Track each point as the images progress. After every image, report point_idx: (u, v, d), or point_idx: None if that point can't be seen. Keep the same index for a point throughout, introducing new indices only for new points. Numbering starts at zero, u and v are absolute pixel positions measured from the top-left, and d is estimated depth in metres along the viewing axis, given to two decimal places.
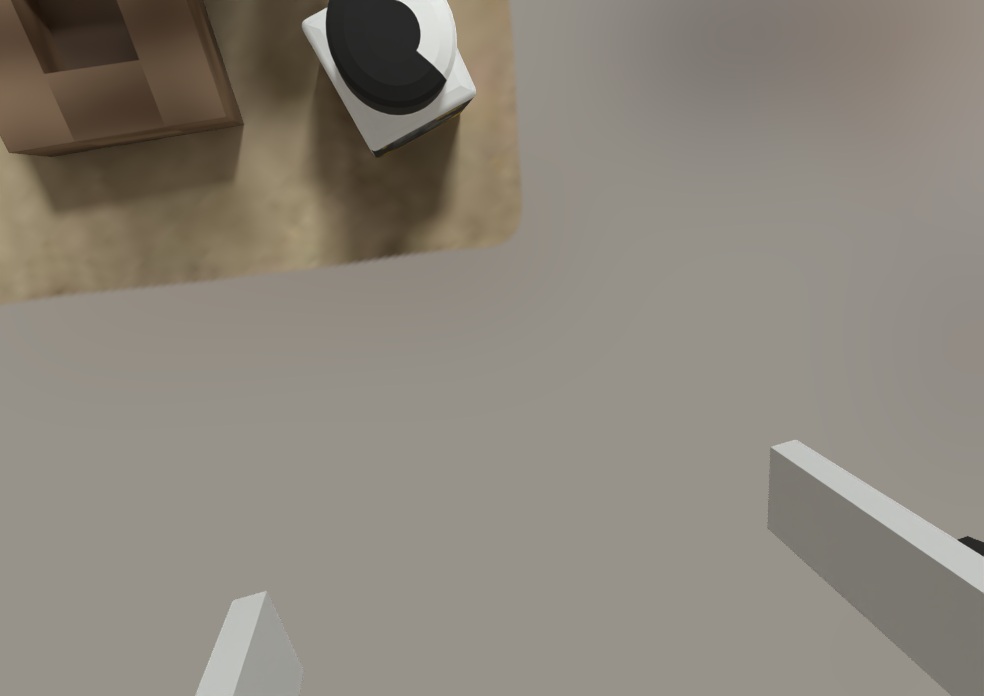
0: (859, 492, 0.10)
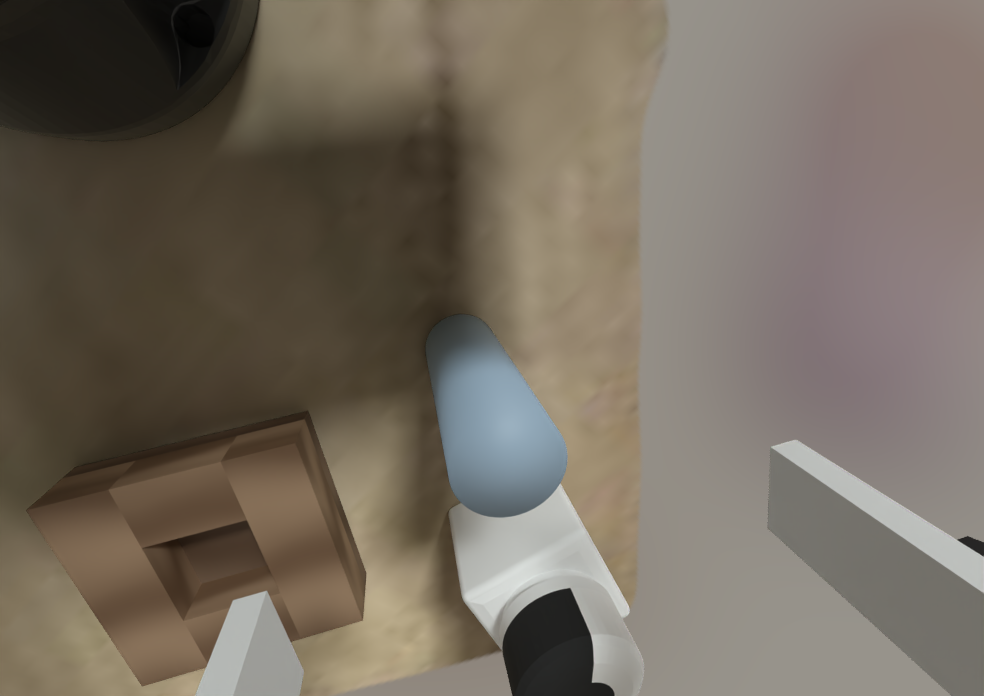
0: (859, 492, 0.10)
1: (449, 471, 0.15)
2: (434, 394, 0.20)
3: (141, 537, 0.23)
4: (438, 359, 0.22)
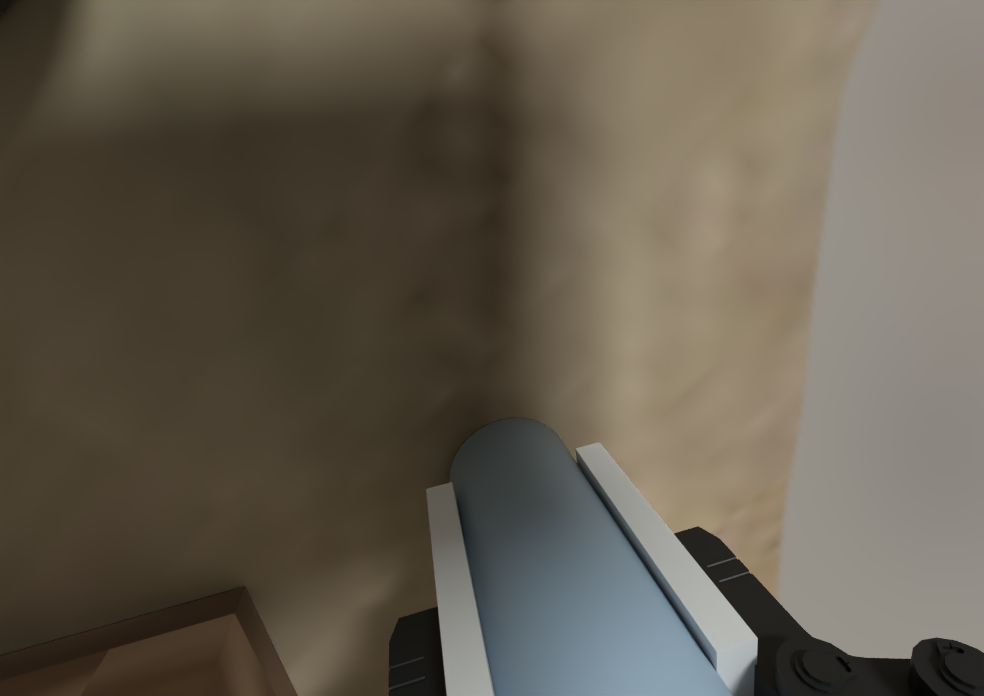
0: (620, 488, 0.12)
1: None
2: None
3: None
4: (487, 553, 0.10)
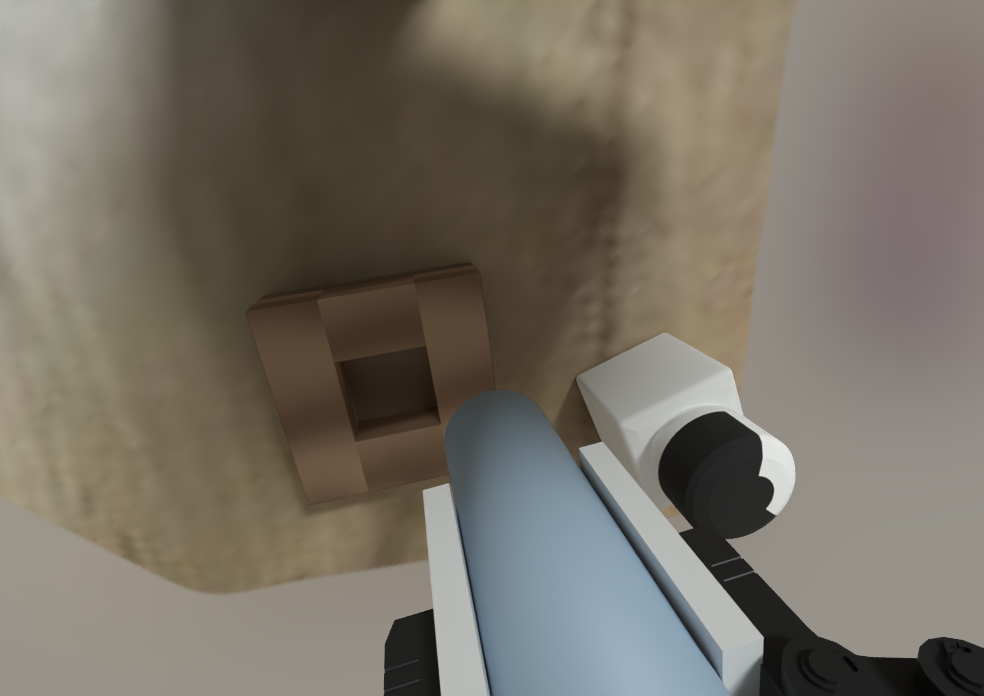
0: (624, 488, 0.12)
1: None
2: (469, 568, 0.11)
3: (335, 351, 0.25)
4: (472, 491, 0.13)
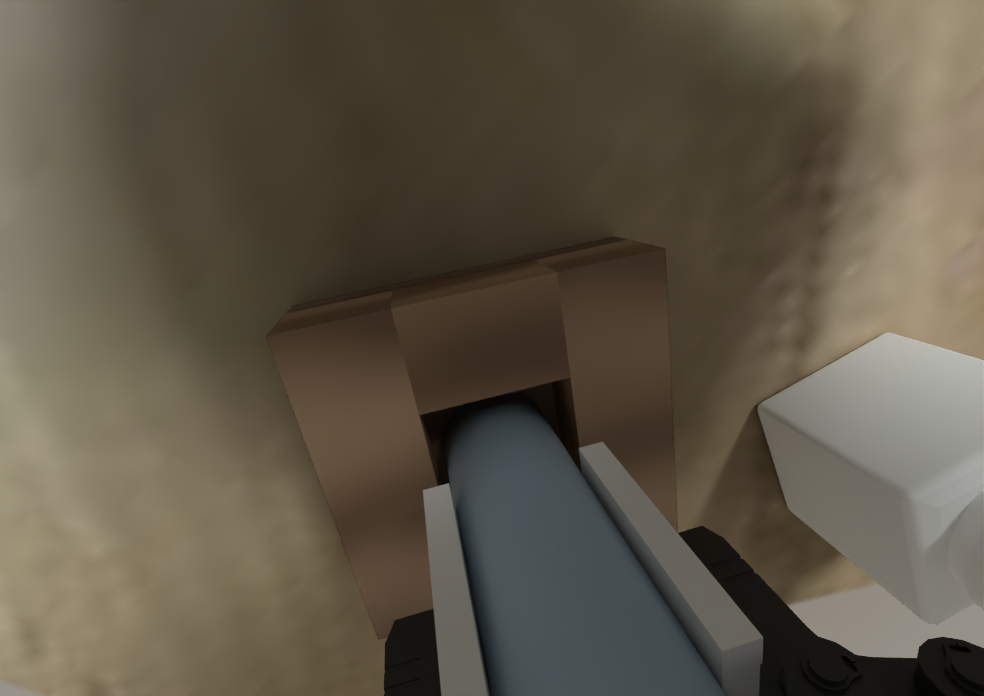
0: (624, 488, 0.12)
1: None
2: (467, 569, 0.11)
3: (422, 396, 0.14)
4: (471, 492, 0.13)
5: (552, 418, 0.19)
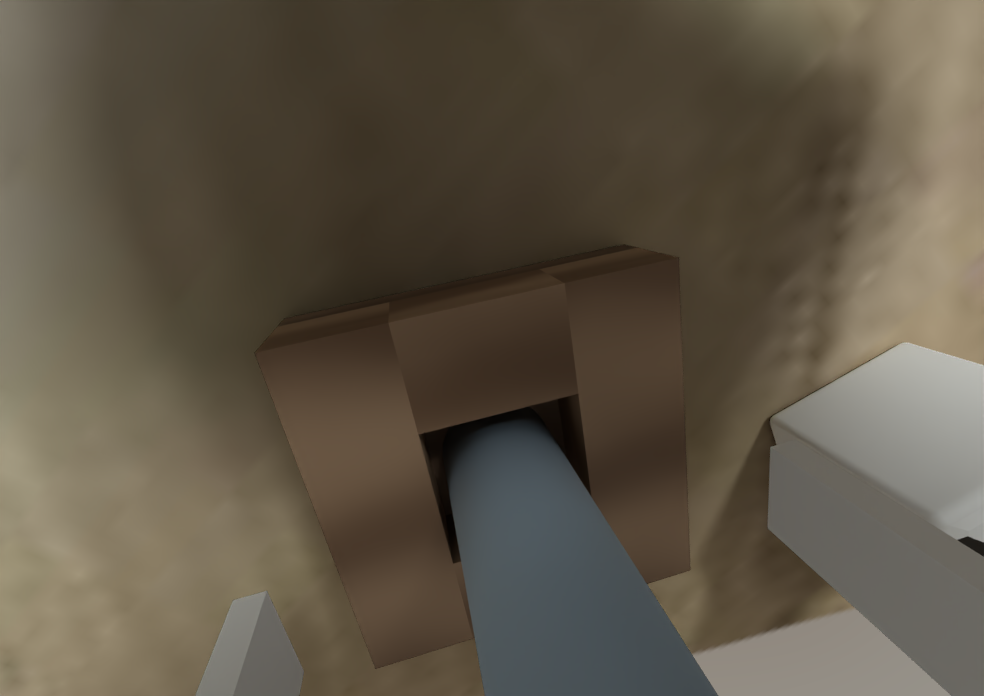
0: (859, 492, 0.10)
1: None
2: (467, 587, 0.11)
3: (421, 415, 0.14)
4: (471, 506, 0.12)
5: (558, 434, 0.18)
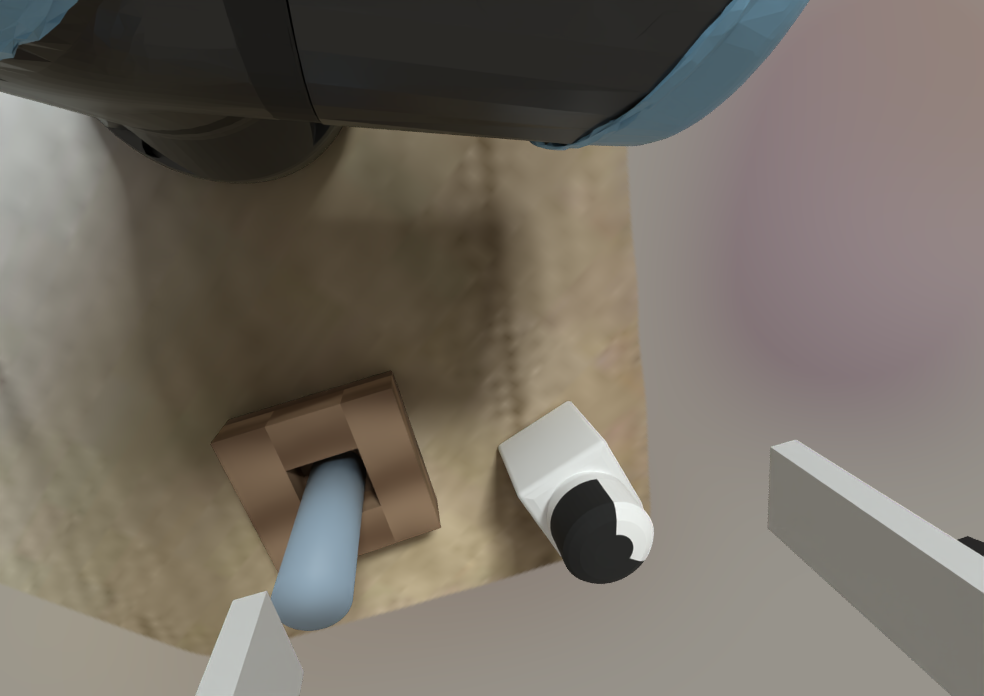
0: (859, 492, 0.10)
1: None
2: None
3: (285, 462, 0.32)
4: (301, 500, 0.30)
5: None
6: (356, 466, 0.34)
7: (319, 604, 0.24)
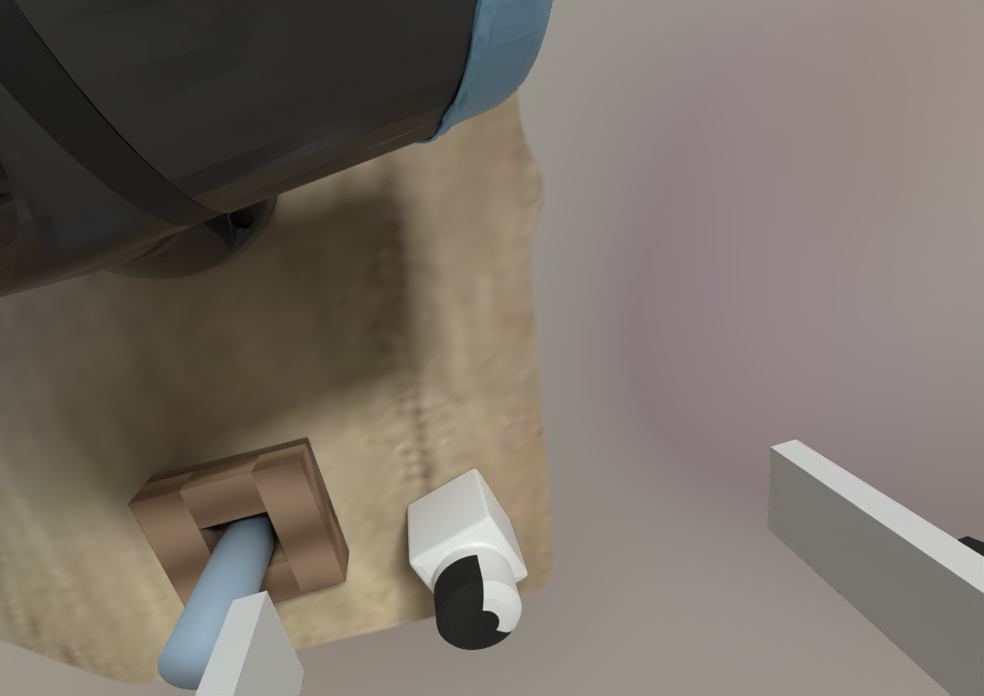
0: (859, 492, 0.10)
1: (159, 669, 0.27)
2: None
3: (198, 522, 0.35)
4: None
5: None
6: (267, 524, 0.37)
7: (203, 668, 0.28)
